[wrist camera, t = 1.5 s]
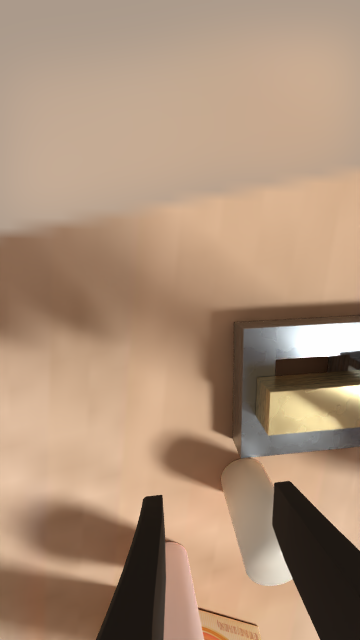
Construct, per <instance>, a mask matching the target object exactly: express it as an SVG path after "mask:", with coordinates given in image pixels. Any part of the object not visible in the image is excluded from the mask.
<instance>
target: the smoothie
mask: <svg viewBox="0 0 360 640" xmlns="http://www.w3.org/2000/svg"><path fill="white" fill-rule="evenodd" d="M165 553H166V592H165V616H164V640H204V637H203V631H202V626H201V621H200V616H199V611H198V606H197V601H196V596H195V591H194V586H193V581H192V576H191V571H190V565H189V560H188V555H187V551H186V549H185V548H184V547H183V546H182V545H180V544H178V543H175V542H165Z"/></svg>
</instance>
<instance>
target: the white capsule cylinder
mask: <svg viewBox="0 0 360 640" xmlns="http://www.w3.org/2000/svg"><path fill="white" fill-rule="evenodd" d="M221 485H222V488H223V492H224V495H225V499H226V502H227V506H228V509H229V513H230V516H231V520H232V524H233V527H234V531H235V534H236V538H237V541H238V545H239V548H240V552H241V555H242V559H243V562H244V566H245V569H246V573H247V575H248V576H249V578H250V579H251V580H252V581H254V582H255V583H257V584H260V585H264V586H275V585H280V584H283V583H286V582H288V581H290V580H292V579H293V578H292V576H291V574H290V572H289V569H288V567H287V565H286V563H285V560H284V557H283V555H282V552H281V549H280V546H279V544H278V541H277V538H276V535H275V532H274V529H273V526H272V515H273V499H274V486H273V484H272V482H271V480H270V478H269V477H268V475H267V473H266V471H265V469H264V467H263V465H262V464H261V463H260V462H258V461H257V460H254V459H251V458H242V459H238V460H235V461H233V462H231V463H230V464H229V465H228V466H227V467H226V468H225V469H224V471H223V472H222V475H221Z"/></svg>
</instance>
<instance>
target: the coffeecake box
mask: <svg viewBox="0 0 360 640" xmlns="http://www.w3.org/2000/svg"><path fill="white" fill-rule="evenodd" d="M198 611H199V616H200V621H201V626H202V631H203V637H204V640H261V637H260V633H259V628H258V626H254V625H251V624H247V623H244V622H240V621H237V620H233V619H230V618H226V617H223V616H219V615H216V614H212V613H209V612H205V611H202V610H198Z"/></svg>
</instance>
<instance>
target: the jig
mask: <svg viewBox="0 0 360 640" xmlns="http://www.w3.org/2000/svg"><path fill="white" fill-rule="evenodd" d="M321 356H329V359H328V368H327V372H338V371H352V370H359V371H360V315H356V316H338V317H320V318H302V319H284V320H266V321H248V322H234V380H233V441H234V444H235V446H236V448H237V451H238V453H239V455H240V458H250V457H260V456H270V455H280V454H290V453H300V452H310V451H320V450H330V449H340V448H351V447H360V427H355V428H344V429H334V430H323V431H312V432H301V433H290V434H280V435H269V436H268V434H267V433H266V431H265V430H264V428H263V427H262V425H261V424H260V422H259V421H258V419H257V417H256V392H257V377H270V376H275V365H276V360H277V359H292V358H306V357H321Z"/></svg>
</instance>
